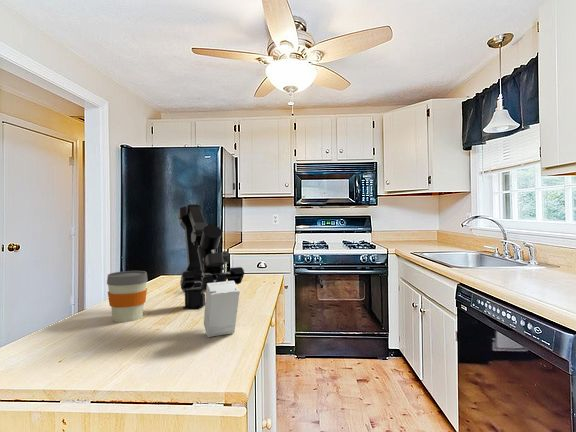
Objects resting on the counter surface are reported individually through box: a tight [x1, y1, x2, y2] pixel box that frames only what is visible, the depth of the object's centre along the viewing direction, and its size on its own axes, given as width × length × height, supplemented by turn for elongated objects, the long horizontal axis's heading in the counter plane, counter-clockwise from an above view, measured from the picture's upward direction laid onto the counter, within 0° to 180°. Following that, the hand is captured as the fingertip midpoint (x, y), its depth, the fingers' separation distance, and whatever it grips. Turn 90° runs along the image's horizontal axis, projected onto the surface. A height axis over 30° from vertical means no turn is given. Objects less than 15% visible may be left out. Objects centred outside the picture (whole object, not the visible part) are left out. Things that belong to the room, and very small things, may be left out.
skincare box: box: [203, 280, 241, 338], centre depth 101 cm, size 8×6×15 cm
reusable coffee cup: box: [106, 270, 149, 323], centre depth 119 cm, size 12×13×15 cm
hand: (218, 301), depth 103 cm, fingers closed
